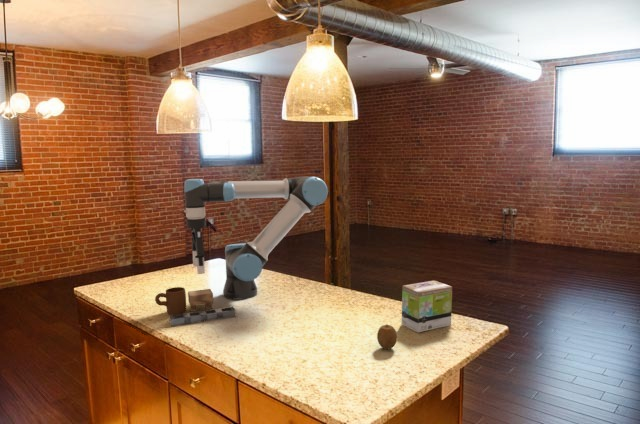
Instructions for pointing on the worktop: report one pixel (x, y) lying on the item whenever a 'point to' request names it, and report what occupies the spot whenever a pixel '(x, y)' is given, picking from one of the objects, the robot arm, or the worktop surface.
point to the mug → (173, 300)
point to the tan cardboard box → (200, 298)
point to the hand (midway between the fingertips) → (198, 269)
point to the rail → (202, 316)
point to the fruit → (387, 336)
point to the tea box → (426, 305)
